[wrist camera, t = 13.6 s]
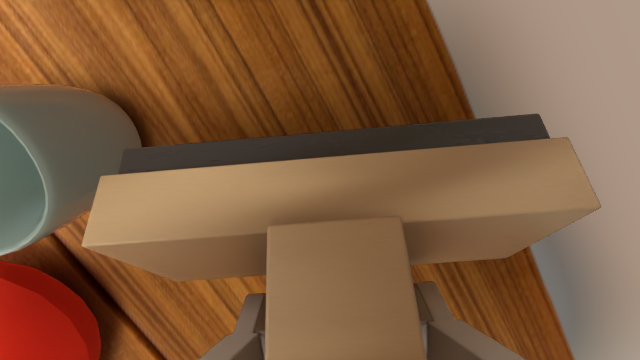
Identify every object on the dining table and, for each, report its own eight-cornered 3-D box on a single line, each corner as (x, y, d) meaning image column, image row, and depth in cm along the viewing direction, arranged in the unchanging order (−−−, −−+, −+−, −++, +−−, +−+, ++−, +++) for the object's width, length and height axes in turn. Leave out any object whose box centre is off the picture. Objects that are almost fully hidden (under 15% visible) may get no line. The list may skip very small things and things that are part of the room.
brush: (568, 89, 7) (815, 560, 4) (478, 191, 11) (554, 441, 8) (93, 131, 7) (-52, 592, 4) (190, 213, 12) (158, 461, 8)
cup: (179, 164, 24) (86, 221, 15) (93, 204, 25) (-46, 282, 16) (117, 62, 22) (-38, 52, 13) (26, 111, 23) (-181, 136, 14)
